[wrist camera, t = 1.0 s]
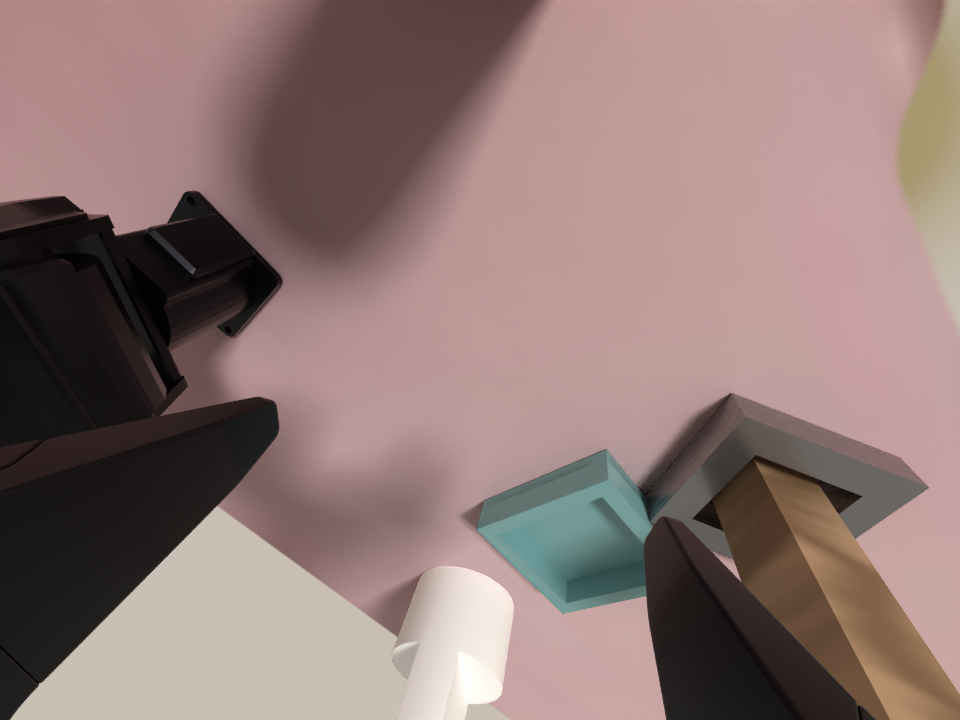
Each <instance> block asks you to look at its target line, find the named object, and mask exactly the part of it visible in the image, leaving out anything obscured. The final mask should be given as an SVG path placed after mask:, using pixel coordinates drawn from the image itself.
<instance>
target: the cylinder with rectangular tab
mask: <svg viewBox="0 0 960 720" xmlns="http://www.w3.org/2000/svg"><path fill="white" fill-rule="evenodd" d="M513 613H514V604H513V600H512V598H511V597H510V595H509V594H508V592H507V591H506V590H505V589H504V588H503V587H502V586H501V585H499V584H498V583H497V582H495V581H494V580H492V579H491V578H489V577H487V576H485V575H483V574H481V573H478V572H476V571H473V570H469V569H466V568H462V567H453V566H443V567H435V568H433V569H430V570H427V571H426V572H425V573H424V574H422V575H421V577H420V579H419V581H418V584H417V587H416V590H415V592H414V595H413V598H412V600H411V603H410V606H409V609H408V611H407V614H406V617H405V619H404V622H403V625H402V627H401V630H400V633H399V636H398V638H397V641H396V644H395V647H394V649H393V652H392V662H393V663H394V665H395V667H396V669H397V670H398V671H399V672H400V673H401V674H402V675H403V676H404V677H405V678H406V679H407V680H408V681H407V684H406V687H405V691H404V693H403V697H402V700H401V703H400V706H399V709H398V712H397V715H396V719H395V720H465V717H466V712H467V707H468V704H483V703H489V702H492V701H495V700H496V699H498V698H499V697H500V696H501V693H502V688H503V681H504V674H505V668H506V661H507V654H508V647H509V640H510V634H511V627H512V620H513Z"/></svg>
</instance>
